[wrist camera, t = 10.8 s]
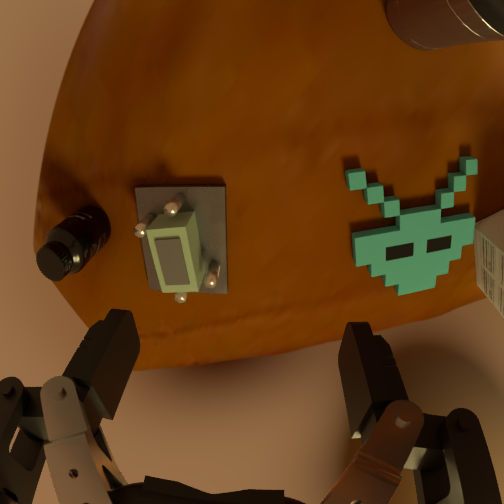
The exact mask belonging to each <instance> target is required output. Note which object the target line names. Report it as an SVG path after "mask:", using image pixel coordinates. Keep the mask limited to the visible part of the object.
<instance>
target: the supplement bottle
mask: <svg viewBox="0 0 504 504" xmlns="http://www.w3.org/2000/svg"><path fill="white" fill-rule="evenodd" d="M110 234H111V227H110V223H109V220H108V218H107V217H106V215H105V214H104V213H103V212H102V211H101V210H100V209H98V208H96V207H94V206H84V207H81V208H80V209H78V210H77V211H75V212H74V213H73V214H71V215H70V216H69V217H67V218H66V219H65V220H63V221H62V222H61V223H59V224H58V225H57V226H55V227H54V228H53V229H52V230H51V231H50V232H49V233H48V234H47V237H46V240H45V244H44V245H43V247H42V248H40V249H39V251H38V252H37V257H36V259H37V260H36V261H37V265H38V267H39V269H40V271H41V272H42V273H43V275H44V276H46V278H48V279H50V280H52V281H60V280H62V279H63V278H64V277H65V276H67V275H68V274H74V273H77V272H79V271H80V270H82V269H83V268H84V266H85V265H86V264H87V263H88V262H89V261H90V260H91V259H92V258H93V257H94V256H95V255H96V253H97V252H98V251H99V250H100V249H101V248H102V247H103V246H104V245H105V244H106V243H107V241H108V240H109V238H110Z"/></svg>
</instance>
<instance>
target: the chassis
mask: <svg viewBox="0 0 504 504" xmlns="http://www.w3.org/2000/svg"><path fill="white" fill-rule="evenodd" d="M135 194H136V202H137V211H138V218H139V224H138V225H137V226H136V227H135V228H134V234H135V235H136V236H137V237H139V238H141V240H142V246H143V252H144V259H145V264H146V270H147V276H148V281H149V287H150V289H152V290H162V289H161V286H160V282H159V279H158V275H157V271H156V268H155V264H154V260H153V256H152V253H151V249H150V245H149V241H148V237H147V232H146V229H147V228H148V227H149V226H150V225H151V223H152V222H153V221H154V220H155V218H156V217H157V216H158V215H160V214H165V215H166V216H168V217H173V216H175V215H176V213H180V212H191V211H195V217H196V223H197V229H198V234H199V240H200V246H201V251H202V257H203V262H204V267H205V273H204V276H203V280H202V283H201V286H200V289H199V292H200V293H219V294H227V293H228V263H227V218H226V184H168V185H138V186H137V187H135ZM187 295H188V292H176V294H175V297H174V298H175V301H176V302H178V303H184V302H185V301H186V298H187Z"/></svg>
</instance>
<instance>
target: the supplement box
mask: <svg viewBox="0 0 504 504" xmlns="http://www.w3.org/2000/svg"><path fill="white" fill-rule="evenodd" d="M473 241H474V252H475V266H476V284H477V285H478V287H479V288H480V289H481V290H482V291H483V292H484V294H485V295H486V296H487V297H488V299H489V300H490V301H491V302H492V304H493V305H494V306H495V307H496V309H497V310H498V311H499V313H500V314H501V315H502V316H503V318H504V209H503V210H501V211H499V212H497V213H495V214H493V215H491V216H489V217H487V218H485V219H482V220H480V221H478V222H476V223H475V227H474V237H473Z"/></svg>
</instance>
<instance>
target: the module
mask: <svg viewBox="0 0 504 504" xmlns="http://www.w3.org/2000/svg"><path fill="white" fill-rule="evenodd" d="M146 232H147V237H148V241H149V245H150V249H151V253H152V256H153V260H154V264H155V268H156V271H157V275H158V279H159V282H160V286H161V289H162V293H164V292H199V289H200V286H201V283H202V280H203V276H204V273H205V267H204V262H203V257H202V251H201V246H200V240H199V234H198V229H197V223H196V217H195V211H191V212H180V213H176V215H175V216H173V217H168V216H166V215H165V214H160V215H158V216H157V217H156V218H155V220H154V221H153V222H152V223H151V225H150V226H149V227H148V228H147V229H146Z"/></svg>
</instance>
